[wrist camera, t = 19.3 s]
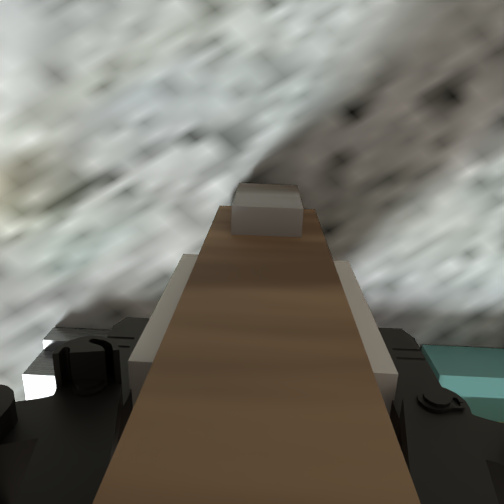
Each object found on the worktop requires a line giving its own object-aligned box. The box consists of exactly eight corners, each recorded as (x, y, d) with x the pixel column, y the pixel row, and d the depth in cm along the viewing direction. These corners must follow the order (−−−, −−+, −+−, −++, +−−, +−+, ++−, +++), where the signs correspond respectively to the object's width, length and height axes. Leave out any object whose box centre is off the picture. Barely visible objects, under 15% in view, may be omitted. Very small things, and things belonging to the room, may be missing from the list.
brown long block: (219, 182, 20) (-10, 614, 4) (316, 185, 19) (530, 648, 3) (218, 312, 22) (68, 968, 6) (306, 316, 21) (413, 995, 5)
